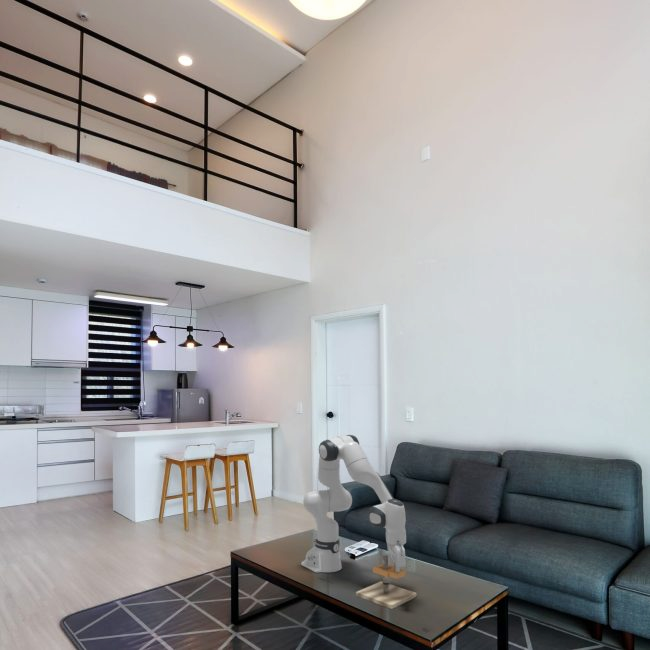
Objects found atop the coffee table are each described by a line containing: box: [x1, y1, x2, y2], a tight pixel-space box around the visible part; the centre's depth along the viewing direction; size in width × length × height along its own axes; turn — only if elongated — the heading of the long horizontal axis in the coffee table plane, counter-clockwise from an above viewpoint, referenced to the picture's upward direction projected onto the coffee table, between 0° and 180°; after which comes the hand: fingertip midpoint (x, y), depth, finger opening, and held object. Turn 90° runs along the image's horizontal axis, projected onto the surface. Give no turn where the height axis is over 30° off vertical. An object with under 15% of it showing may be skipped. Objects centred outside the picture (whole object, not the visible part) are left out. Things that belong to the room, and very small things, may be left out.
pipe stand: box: [355, 554, 417, 610], centre depth 224 cm, size 20×18×17 cm
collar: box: [372, 563, 406, 580], centre depth 223 cm, size 12×8×2 cm, turn 45°
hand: (396, 571), depth 220 cm, fingers closed
